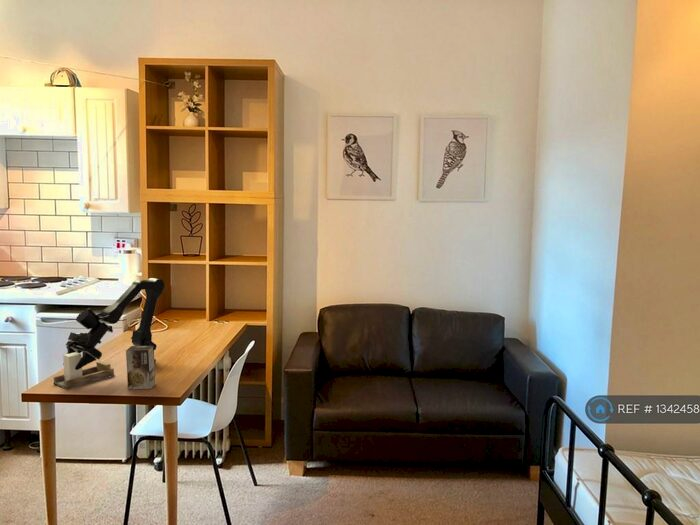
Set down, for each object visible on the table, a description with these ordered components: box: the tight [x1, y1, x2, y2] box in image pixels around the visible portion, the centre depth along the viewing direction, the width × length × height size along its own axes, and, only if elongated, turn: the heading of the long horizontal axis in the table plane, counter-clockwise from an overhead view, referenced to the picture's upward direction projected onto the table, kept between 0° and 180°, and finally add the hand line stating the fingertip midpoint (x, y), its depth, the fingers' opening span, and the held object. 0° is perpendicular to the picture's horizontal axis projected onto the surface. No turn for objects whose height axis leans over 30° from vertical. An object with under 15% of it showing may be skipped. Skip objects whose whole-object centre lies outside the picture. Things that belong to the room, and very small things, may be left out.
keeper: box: [62, 352, 83, 381], centre depth 208 cm, size 5×4×11 cm
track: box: [53, 360, 115, 390], centre depth 212 cm, size 20×10×5 cm, turn 146°
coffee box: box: [125, 345, 156, 390], centre depth 204 cm, size 9×6×16 cm
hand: (69, 367), depth 207 cm, fingers open, 9 cm apart
